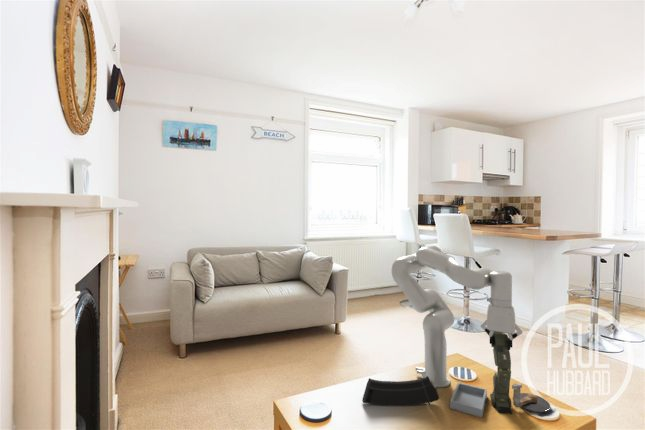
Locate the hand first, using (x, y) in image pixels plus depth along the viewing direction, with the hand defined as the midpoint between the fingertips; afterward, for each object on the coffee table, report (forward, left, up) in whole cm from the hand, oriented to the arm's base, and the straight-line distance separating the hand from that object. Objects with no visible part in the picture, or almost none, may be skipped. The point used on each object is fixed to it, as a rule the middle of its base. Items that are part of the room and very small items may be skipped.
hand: (500, 346), depth 140 cm
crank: (+8, +2, -22) cm, 23 cm away
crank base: (+11, +6, -24) cm, 27 cm away
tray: (-11, -5, -24) cm, 27 cm away
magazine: (-35, -20, -24) cm, 47 cm away
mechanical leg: (0, 0, -24) cm, 24 cm away
